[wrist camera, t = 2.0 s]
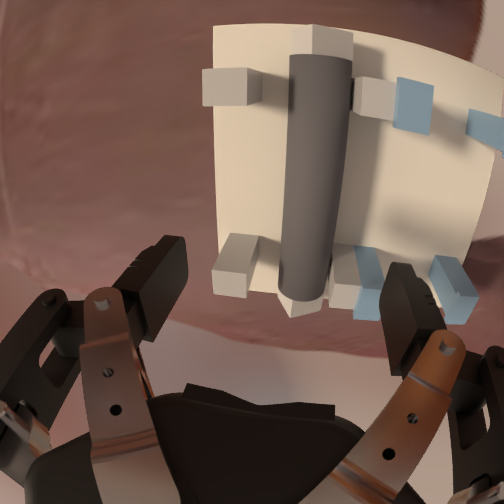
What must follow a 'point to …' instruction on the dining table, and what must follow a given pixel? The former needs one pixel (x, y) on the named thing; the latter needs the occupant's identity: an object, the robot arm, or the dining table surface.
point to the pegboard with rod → (356, 165)
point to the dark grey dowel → (313, 162)
